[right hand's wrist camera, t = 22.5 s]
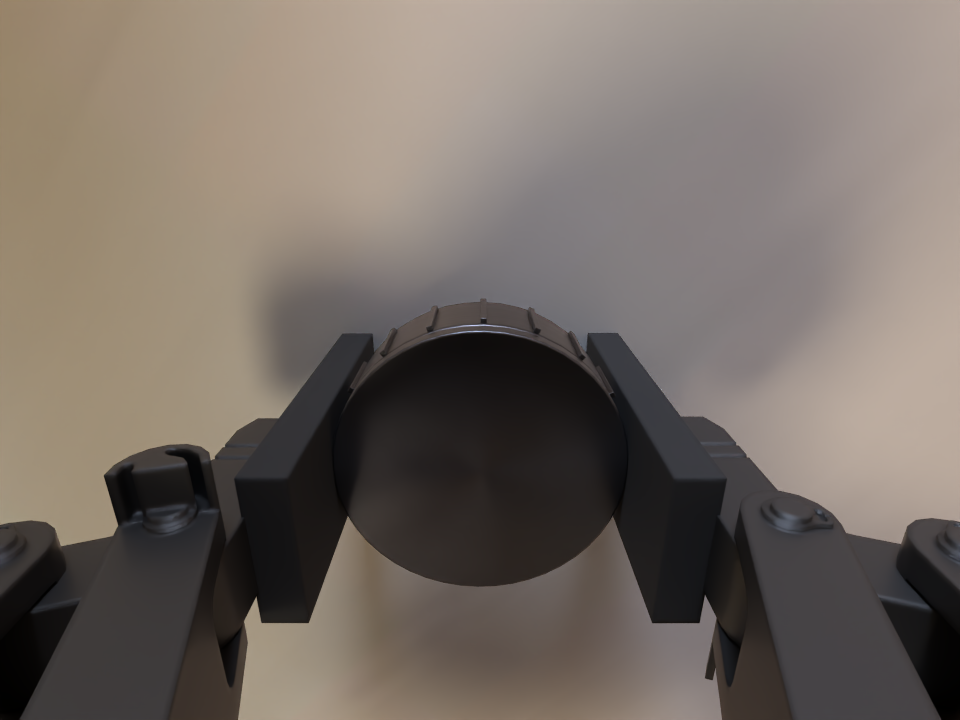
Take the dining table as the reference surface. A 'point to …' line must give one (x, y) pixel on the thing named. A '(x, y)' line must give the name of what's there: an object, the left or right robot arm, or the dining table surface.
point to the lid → (480, 446)
